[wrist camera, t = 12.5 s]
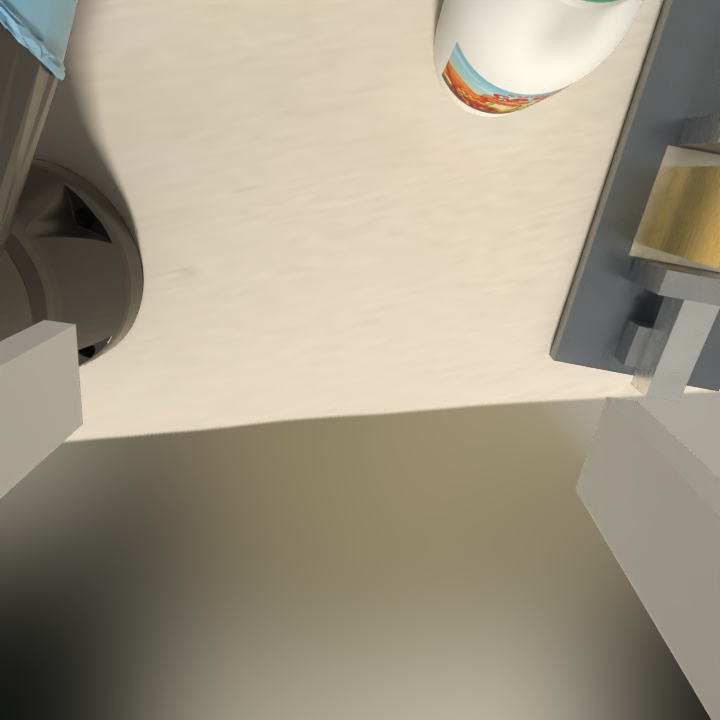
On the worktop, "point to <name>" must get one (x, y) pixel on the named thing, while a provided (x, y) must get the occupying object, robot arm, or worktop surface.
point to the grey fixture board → (637, 220)
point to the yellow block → (691, 216)
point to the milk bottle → (523, 48)
